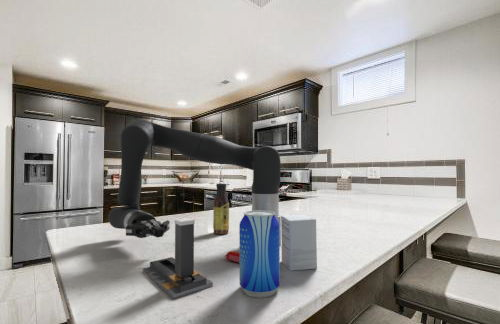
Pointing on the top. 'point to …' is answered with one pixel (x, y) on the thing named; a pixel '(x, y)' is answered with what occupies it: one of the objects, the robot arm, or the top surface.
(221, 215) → the sauce bottle
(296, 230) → the supplement box
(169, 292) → the fader track
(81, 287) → the top surface
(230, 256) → the candy bar
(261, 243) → the beer can
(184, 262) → the fader knob
